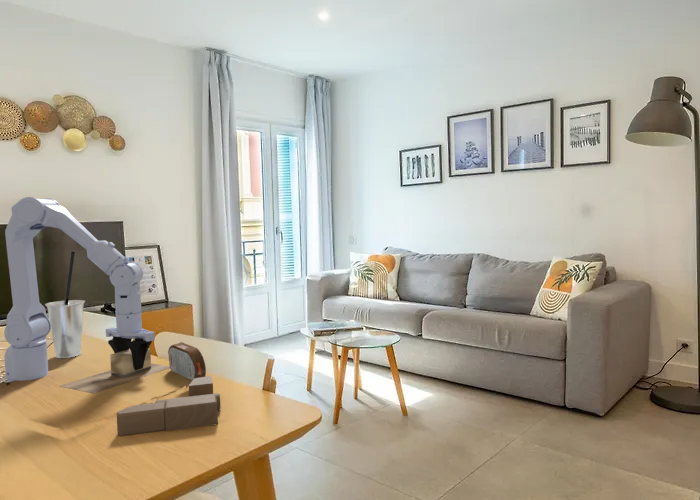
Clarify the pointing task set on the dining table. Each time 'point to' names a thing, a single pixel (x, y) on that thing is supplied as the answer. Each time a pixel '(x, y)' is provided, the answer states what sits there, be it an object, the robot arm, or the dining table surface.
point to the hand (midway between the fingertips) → (131, 367)
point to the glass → (66, 322)
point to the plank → (109, 380)
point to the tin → (186, 361)
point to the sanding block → (127, 363)
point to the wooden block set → (173, 411)
